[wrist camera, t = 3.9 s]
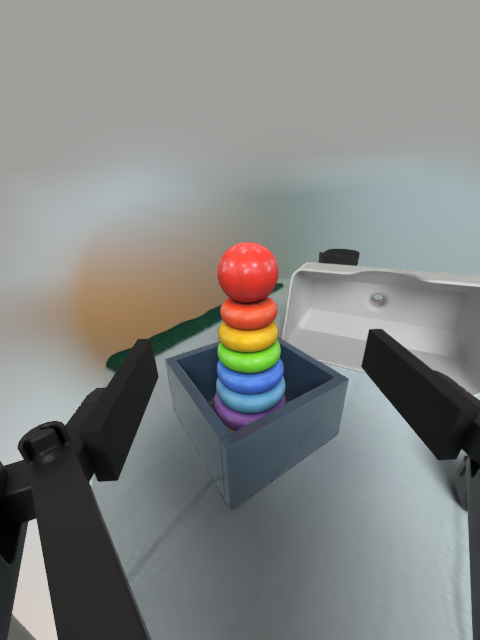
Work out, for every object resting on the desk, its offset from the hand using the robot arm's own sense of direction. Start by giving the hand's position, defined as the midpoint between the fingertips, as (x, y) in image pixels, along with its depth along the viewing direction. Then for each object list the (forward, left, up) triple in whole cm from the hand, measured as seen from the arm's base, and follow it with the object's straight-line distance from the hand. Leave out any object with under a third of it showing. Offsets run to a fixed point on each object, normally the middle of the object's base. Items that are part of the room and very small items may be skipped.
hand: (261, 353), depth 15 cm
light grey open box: (-8, +29, -13) cm, 33 cm away
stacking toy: (-6, +4, -13) cm, 15 cm away
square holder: (-6, +4, -13) cm, 15 cm away
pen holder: (-30, +48, -13) cm, 58 cm away
